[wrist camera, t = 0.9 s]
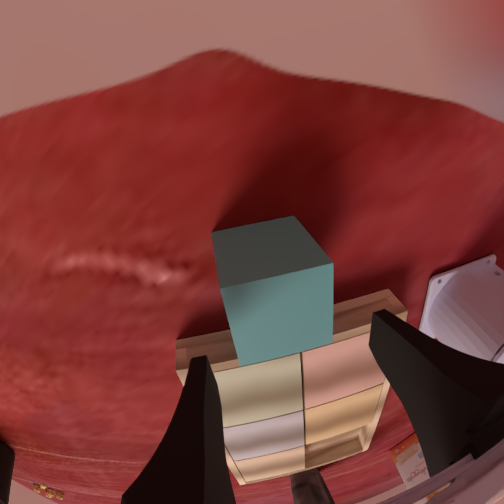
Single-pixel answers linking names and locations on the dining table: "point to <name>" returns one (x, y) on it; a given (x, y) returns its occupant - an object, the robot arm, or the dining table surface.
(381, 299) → the puzzle board
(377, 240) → the dining table surface
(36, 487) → the popcorn pieces
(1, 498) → the pen holder
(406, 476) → the cracker box
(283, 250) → the teal block
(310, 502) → the beverage cup
